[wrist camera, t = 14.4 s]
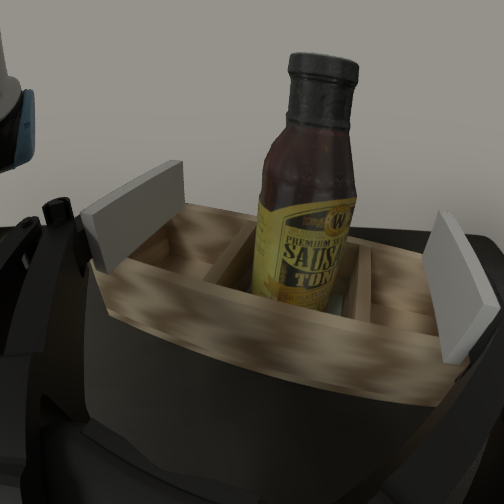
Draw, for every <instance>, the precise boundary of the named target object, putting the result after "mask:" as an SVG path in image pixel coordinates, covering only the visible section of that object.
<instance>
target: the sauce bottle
mask: <svg viewBox="0 0 504 504" xmlns="http://www.w3.org/2000/svg"><path fill="white" fill-rule="evenodd" d="M288 73H289V76H290V78H291V85H290V96H289V106H288V112H287V113H286V128H285V129H284V130H283V132H282V133H281V134H280V135H279V136H278V137H277V138H276V140H275V141H274V142H273V143H272V145H271V148H270V150H269V152H268V154H267V156H266V158H265V160H264V166H263V173H262V190H261V193H260V195H259V203H258V215H257V226H256V238H255V250H254V261H253V272H252V283H251V294H253V295H256V296H260V297H264V298H268V299H272V300H275V301H279V302H283V303H287V304H291V305H295V306H299V307H303V308H307V309H311V310H316V311H320V312H324V313H325V312H326V309H327V306H328V302H329V299H330V296H331V293H332V290H333V286H334V283H335V279H336V276H337V272H338V269H339V266H340V263H341V259H342V255H343V252H344V248H345V244H346V241H347V237H348V232H349V228H350V223H351V220H352V215H353V212H354V208H355V203H356V199H357V194H356V188H355V181H354V171H353V162H352V153H351V145H350V137H349V130H350V115H351V107H352V100H353V93H354V89H355V87H356V85H357V84H358V77H359V74H358V73H359V65H358V64H357V63H355V62H354V61H352V60H349V59H345V58H341V57H336V56H330V55H324V54H317V53H305V52H304V53H302V52H300V53H298V52H297V53H292V54H291V55H290V59H289V65H288Z"/></svg>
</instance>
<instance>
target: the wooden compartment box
mask: <svg viewBox="0 0 504 504" xmlns="http://www.w3.org/2000/svg"><path fill="white" fill-rule="evenodd" d="M256 226H257V216H253V215H248V214H242V213H237V212H232V211H227V210H222V209H216V208H211V207H205V206H199V205H194V204H189V203H185V208H184V209H182V210H181V211H180V212H179V213H178V214H176V215H175V216H174V217H173V218H172V219H170V220H169V221H168V222H167V223H166V224H164V225H163V226H162V227H161V228H160V229H159V230H157V231H156V232H155V233H154V234H153V235H152V236H150V237H149V238H148V239H147V240H146V241H145V242H144V243H142V244H141V245H140V246H139V247H138V248H137V249H136V250H135V251H133V252H132V253H131V254H130V255H129V256H128V257H127V258H126V259H125V260H123V261H122V262H121V263H120V264H119V265H118V266H117V267H116V268H115V269H114V270H113V271H112V272H111V273H109V274H108V275H107V274H105V273H102V272H99V271H97V270H96V269H95V266H94V263H93V259H91V260H90V262H91V265H92V268H93V271H94V274H95V277H96V280H97V283H98V286H99V289H100V292H101V295H102V297H103V300H104V303H105V305H106V308H107V311H108V313H109V315H110V316H112V317H114V318H116V319H118V320H120V321H122V322H125V323H127V324H129V325H131V326H134V327H136V328H138V329H140V330H143V331H145V332H147V333H150V334H152V335H154V336H157V337H159V338H162V339H164V340H167V341H169V342H172V343H174V344H177V345H179V346H182V347H185V348H187V349H190V350H192V351H195V352H198V353H201V354H203V355H206V356H209V357H212V358H215V359H218V360H221V361H224V362H227V363H230V364H233V365H236V366H239V367H242V368H245V369H249V370H252V371H255V372H258V373H262V374H265V375H269V376H272V377H276V378H279V379H283V380H287V381H291V382H295V383H299V384H303V385H307V386H311V387H315V388H319V389H324V390H328V391H333V392H338V393H342V394H347V395H353V396H358V397H363V398H369V399H375V400H381V401H388V402H395V403H402V404H410V405H419V406H428V407H437V406H438V405H439V403H440V402H441V401H442V400H443V398H444V397H445V396H446V394H447V393H448V392H449V390H450V389H451V388H452V386H453V385H454V384H455V382H454V380H455V379H456V378H457V377H458V376H459V375H460V374H461V373H462V371H463V370H464V369H465V368H466V367H467V366H468V365H469V363H470V359H469V354H468V355H467V356H466V357H465V359H464V360H463V361H462V362H461V363H460V365H457V364H450V363H443V359H442V351H441V345H440V338H439V332H438V327H437V321H436V316H435V311H434V306H433V302H432V297H431V293H430V289H429V284H428V280H427V277H426V273H425V269H424V265H423V262H422V255H423V254H420V253H416V252H412V251H408V250H404V249H400V248H396V247H392V246H388V245H384V244H380V243H376V242H371V241H367V240H363V239H359V238H355V237H350V236H348V237H347V241H346V244H345V248H344V252H343V255H342V259H341V263H340V266H339V269H338V272H337V276H336V279H335V283H334V286H333V290H332V293H331V296H330V299H329V302H328V306H327V309H326V312H325V313H324V312H320V311H316V310H311V309H307V308H303V307H299V306H295V305H291V304H287V303H283V302H279V301H275V300H272V299H268V298H264V297H260V296H256V295H253V294H251V283H252V272H253V261H254V250H255V238H256Z"/></svg>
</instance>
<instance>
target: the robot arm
mask: <svg viewBox="0 0 504 504" xmlns="http://www.w3.org/2000/svg"><path fill="white" fill-rule="evenodd" d="M34 151H35V103H34V92H33V90H31V89H29V90H27V89H25V90H24V91H22V90H21V86H20V83H19V81H18V80H17V79H16V78H14V77H11V76H8V74H7V70H6V65H5V60H4V53H3V47H2V40H1V33H0V173H3V172H6V171H8V170H11V169H15V168H16V167H18V166H20V165H22V164H25V163H27V162H28V161H30V160H31V159H32V157H33V155H34ZM184 208H185V198H184V181H183V161H178V160H177V161H176V160H169V161H168V162H166V163H164V164H162V165H160V166H158V167H156V168H154V169H152V170H150V171H148V172H147V173H145V174H143V175H141V176H139V177H138V178H136V179H134V180H132V181H130V182H129V183H127V184H125V185H124V186H122V187H120V188H118V189H116V190H115V191H113V192H111V193H110V194H108V195H106V196H105V197H103V198H102V199H100V200H98V201H97V202H95V203H94V204H92V205H90V206H89V207H87V208H86V209H84V210H83V211H81V212H80V215H78V216H77V217H75V218H74V215H73V211H72V207H71V203H70V199H69V198H68V197H61V198H56V199H53V200H51V201H49V202H47V203H46V204H44V206H43V207H42V210H43V213H44V217H45V220H46V224H47V226H43V227H41V224H40V220H39V218H38V217H36V216H33V217H27V218H25V219H23V220H22V221H21V222H19V224H17V225H16V226H15V227H14V229H13V230H12V231H11V232H10V233H9V234H8V235H7V237H6V238H5V239H4V240H3V241H2V242H1V244H0V504H266V503H264V502H263V501H261V500H259V498H260V496H261V494H257V493H253V492H250V491H246V490H243V489H240V488H236V487H233V486H230V485H227V484H224V483H221V482H219V481H216V480H213V479H206V478H199V477H193V476H187V475H182V474H177V473H172V472H167V471H163V470H161V469H159V468H158V467H156V466H155V465H154V464H153V463H151V462H150V461H149V460H148V459H147V458H146V457H145V456H143V455H142V454H141V453H140V452H139V451H138V450H137V449H136V448H135V447H134V446H132V445H131V444H130V443H129V442H128V441H127V440H126V439H125V438H124V437H122V436H120V435H118V434H117V433H115V432H113V431H112V430H110V429H109V428H107V427H105V426H104V425H102V424H101V423H99V422H98V421H96V420H95V419H93V418H90V416H89V413H88V411H87V409H86V405H85V394H84V324H85V308H86V295H87V285H88V276H89V267H88V264H87V263H88V262H89V261H90V260H91V259H93V263H94V266H95V269H96V270H97V271H99V272H102V273H105V274H107V275H108V274H109V273H111V272H112V271H113V270H114V269H115V268H116V267H117V266H118V265H119V264H120V263H121V262H122V261H123V260H125V259H126V258H127V257H128V256H129V255H130V254H131V253H132V252H133V251H135V250H136V249H137V248H138V247H139V246H140V245H141V244H142V243H144V242H145V241H146V240H147V239H148V238H149V237H150V236H152V235H153V234H154V233H155V232H156V231H157V230H159V229H160V228H161V227H162V226H163V225H164V224H166V223H167V222H168V221H169V220H170V219H172V218H173V217H174V216H175V215H176V214H178V213H179V212H180V211H181V210H182V209H184ZM23 254H24V255H25V258H26V260H27V263H28V265H29V267H28V269H27V270H26V268H25V267H24V264H23V262H22V257H23ZM422 262H423V265H424V269H425V273H426V277H427V280H428V284H429V289H430V293H431V297H432V302H433V306H434V311H435V316H436V321H437V327H438V332H439V338H440V345H441V351H442V359H443V363H450V364H457V365H460V363H461V362H462V361H463V360H464V359H465V357H466V356H467V355H468V354H469V359H470V363H469V365H468V366H467V367H466V368H465V369H464V370H463V371H462V373H461V374H460V375H459V376H458V377H457V378H456V379H455V380H454V382H455V384H454V385H453V386H452V388H451V389H450V390H449V392H448V393H447V394H446V396H445V397H444V398H443V400H442V401H441V402H440V403H439V405H438V406H437V407H436V408H435V409H434V411H433V412H432V413H431V414H430V415H429V417H428V418H427V419H426V420H425V421H424V422H423V424H422V425H421V426H420V427H419V428H418V429H417V430H416V431H415V432H414V433H413V435H412V436H411V437H410V438H409V439H408V440H407V441H406V442H405V443H404V444H403V445H402V446H401V447H400V448H399V449H398V450H397V451H396V452H395V453H394V454H393V455H392V456H391V457H390V458H389V459H388V460H387V461H385V462H384V463H383V464H382V465H381V466H380V467H379V468H378V469H377V470H375V471H374V472H373V473H372V474H371V475H370V476H369V477H367V478H366V479H365V480H364V481H363V482H361V483H360V484H359V485H358V486H356V487H355V488H354V489H353V490H351V491H350V492H349V493H347V494H346V495H345V496H343V497H342V498H341V499H339V500H338V501H336V502H335V503H333V504H441V503H442V502H443V501H444V500H445V499H446V497H447V496H448V495H449V494H450V492H451V491H452V490H453V488H454V487H455V486H456V484H457V483H458V482H459V480H460V479H461V478H462V476H463V475H464V473H465V472H466V470H467V469H468V467H469V466H470V464H471V463H472V461H473V460H474V458H475V457H476V455H477V454H478V452H479V450H480V449H481V447H482V445H483V444H484V442H485V440H486V439H487V437H488V435H489V433H490V435H489V439H488V442H487V445H486V448H485V451H484V453H483V456H482V459H481V462H480V464H479V467H478V469H477V472H476V474H475V477H474V479H473V482H472V484H471V486H470V488H469V490H468V493H467V495H466V497H465V499H464V501H463V503H462V504H504V303H503V300H502V298H501V296H500V294H499V291H498V289H497V287H496V285H495V283H494V281H493V279H492V278H491V276H490V275H489V274H488V273H487V272H486V271H485V270H483V268H482V266H481V264H480V262H479V260H478V258H477V256H476V254H475V253H474V251H473V249H472V247H471V245H470V243H469V242H468V240H467V238H466V236H465V235H464V233H463V231H462V230H461V228H460V227H459V225H458V223H457V221H456V220H455V218H454V217H453V215H452V214H451V213H447V212H444V211H441V210H439V211H438V214H437V217H436V220H435V223H434V226H433V229H432V232H431V234H430V237H429V240H428V242H427V245H426V248H425V250H424V253H423V255H422ZM490 431H491V432H490Z"/></svg>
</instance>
